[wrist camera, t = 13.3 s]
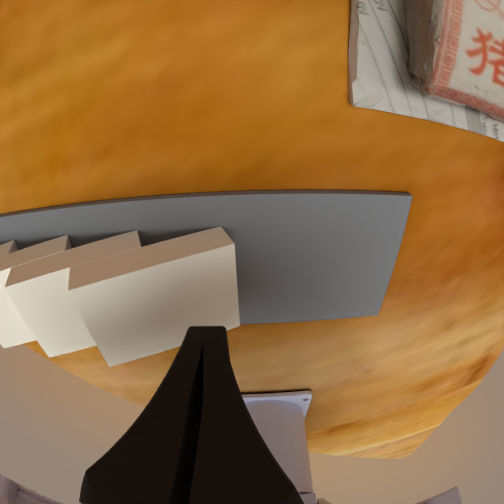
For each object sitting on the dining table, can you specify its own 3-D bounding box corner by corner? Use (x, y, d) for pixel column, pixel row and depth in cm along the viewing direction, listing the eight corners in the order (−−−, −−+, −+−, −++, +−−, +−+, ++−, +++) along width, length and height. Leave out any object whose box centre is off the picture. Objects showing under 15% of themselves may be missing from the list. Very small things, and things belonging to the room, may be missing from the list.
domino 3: (234, 243, 12) (68, 290, 10) (240, 326, 15) (109, 366, 13) (220, 226, 14) (69, 267, 11) (228, 306, 16) (106, 343, 14)
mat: (375, 310, 18) (377, 314, 17) (-1, 308, 17) (-3, 312, 17) (408, 192, 13) (412, 196, 13) (-44, 222, 13) (-47, 225, 12)
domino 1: (64, 250, 12) (-38, 284, 10) (97, 323, 15) (3, 348, 13) (67, 234, 13) (-30, 268, 11) (96, 305, 16) (7, 330, 14)
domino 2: (141, 247, 12) (4, 287, 10) (164, 326, 15) (49, 357, 13) (137, 229, 13) (11, 267, 11) (158, 307, 16) (50, 336, 14)
